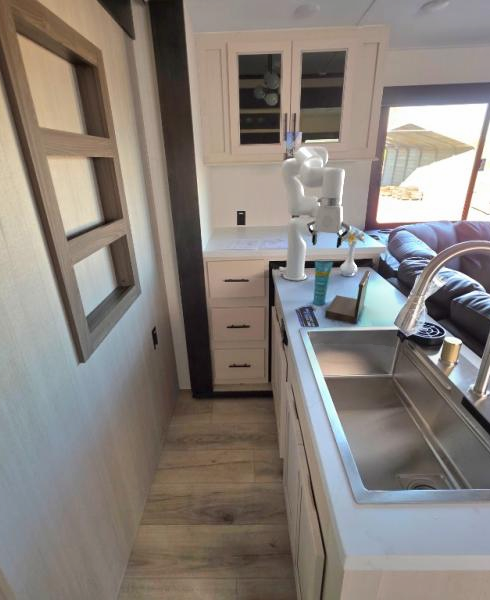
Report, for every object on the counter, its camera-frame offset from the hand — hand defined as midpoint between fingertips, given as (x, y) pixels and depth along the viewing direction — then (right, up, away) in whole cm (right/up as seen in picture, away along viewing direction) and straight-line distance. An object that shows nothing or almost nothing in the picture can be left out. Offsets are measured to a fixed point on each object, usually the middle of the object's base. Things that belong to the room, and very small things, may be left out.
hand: (326, 245), depth 129 cm
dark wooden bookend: (+8, -27, +2) cm, 29 cm away
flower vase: (+24, -8, +46) cm, 52 cm away
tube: (0, -24, +11) cm, 26 cm away
